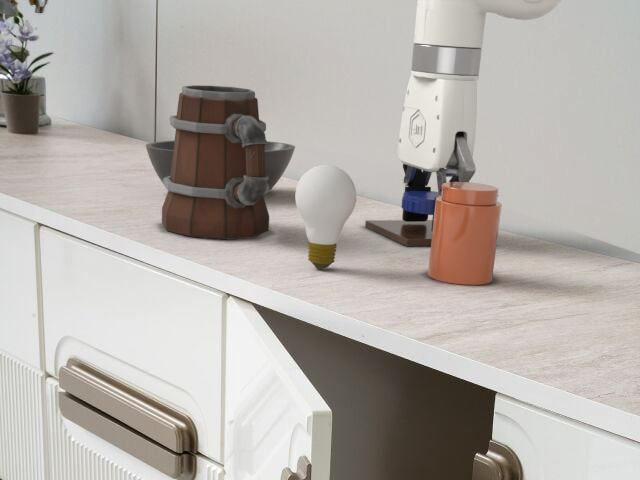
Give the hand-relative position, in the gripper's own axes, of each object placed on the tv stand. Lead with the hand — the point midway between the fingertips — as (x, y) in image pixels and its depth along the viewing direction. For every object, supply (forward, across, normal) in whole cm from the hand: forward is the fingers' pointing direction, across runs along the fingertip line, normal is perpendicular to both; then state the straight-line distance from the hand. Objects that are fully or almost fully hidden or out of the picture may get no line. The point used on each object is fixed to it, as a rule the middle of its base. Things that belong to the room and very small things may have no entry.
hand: (429, 225), depth 131 cm
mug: (+1, -3, -24) cm, 24 cm away
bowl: (+1, -28, -16) cm, 32 cm away
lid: (-3, 0, 0) cm, 3 cm away
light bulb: (+1, +15, -20) cm, 25 cm away
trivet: (+1, 0, 0) cm, 1 cm away
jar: (+1, +20, -7) cm, 21 cm away
